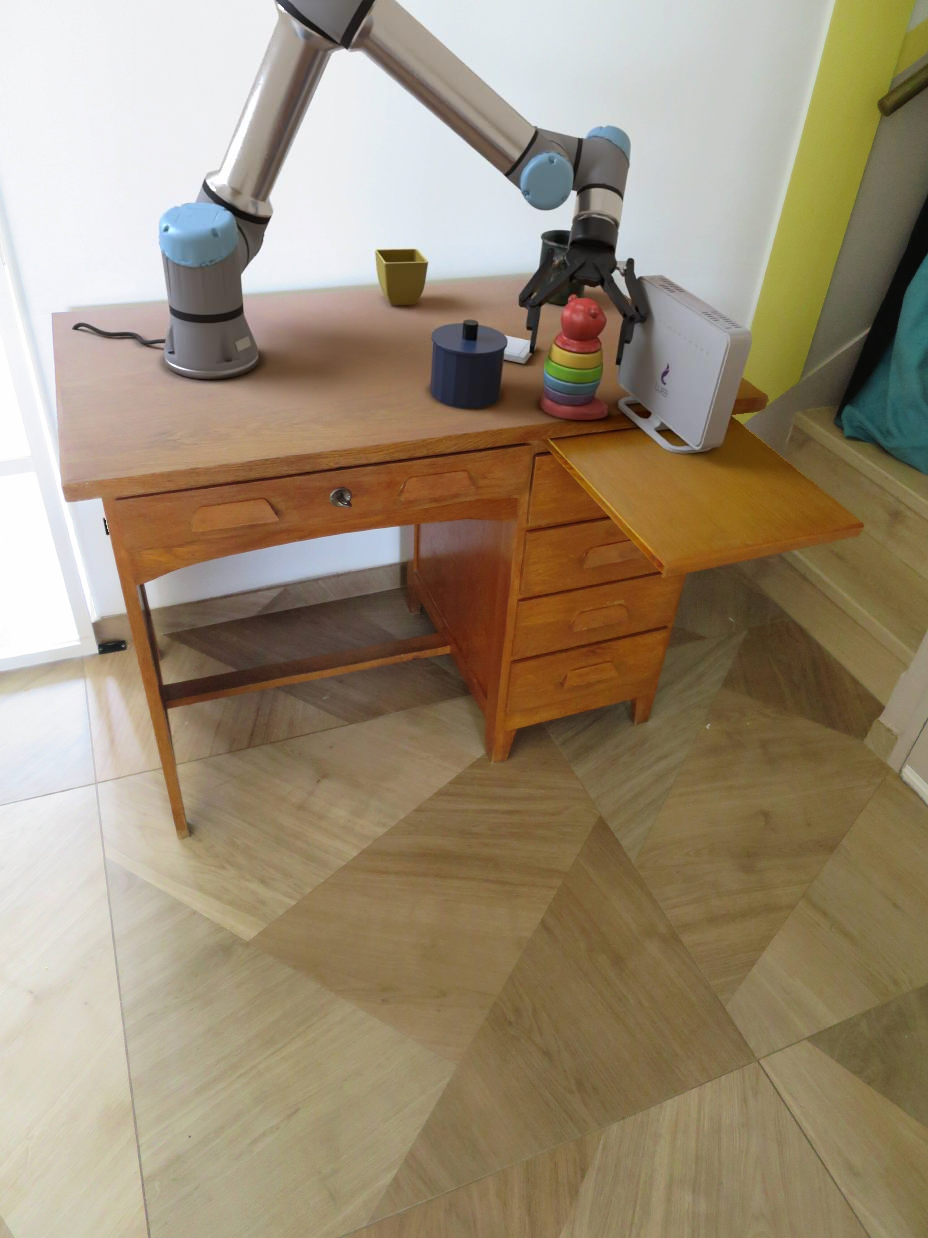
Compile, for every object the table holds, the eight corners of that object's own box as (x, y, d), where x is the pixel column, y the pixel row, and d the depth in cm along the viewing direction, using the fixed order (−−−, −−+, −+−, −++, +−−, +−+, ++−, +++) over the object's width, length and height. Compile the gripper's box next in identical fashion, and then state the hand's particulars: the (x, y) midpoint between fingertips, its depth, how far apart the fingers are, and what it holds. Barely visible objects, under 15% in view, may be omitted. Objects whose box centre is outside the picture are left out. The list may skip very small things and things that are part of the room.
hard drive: (458, 342, 158) (524, 355, 156) (473, 327, 164) (536, 340, 162) (458, 351, 159) (523, 364, 157) (472, 335, 165) (535, 348, 163)
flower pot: (373, 294, 178) (374, 248, 173) (415, 292, 181) (417, 247, 175) (383, 310, 172) (384, 262, 166) (426, 308, 174) (429, 261, 169)
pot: (424, 403, 142) (427, 349, 136) (437, 374, 150) (440, 323, 145) (494, 412, 141) (500, 359, 135) (502, 383, 150) (508, 332, 144)
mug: (588, 292, 189) (598, 234, 181) (577, 315, 178) (586, 254, 170) (539, 284, 191) (546, 226, 183) (525, 306, 180) (532, 245, 172)
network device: (602, 393, 150) (624, 273, 137) (645, 388, 153) (672, 271, 140) (684, 466, 132) (719, 336, 119) (732, 459, 135) (770, 331, 122)
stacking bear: (613, 416, 143) (634, 307, 132) (561, 426, 139) (579, 315, 128) (575, 389, 150) (593, 284, 139) (525, 398, 146) (539, 290, 135)
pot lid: (424, 353, 136) (425, 330, 134) (438, 325, 146) (439, 303, 143) (502, 364, 135) (504, 341, 133) (510, 335, 145) (513, 313, 142)
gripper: (669, 250, 142) (651, 375, 139) (516, 230, 143) (496, 354, 141) (678, 224, 134) (659, 356, 132) (517, 204, 136) (495, 334, 134)
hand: (575, 355), depth 137 cm, fingers open, 13 cm apart
